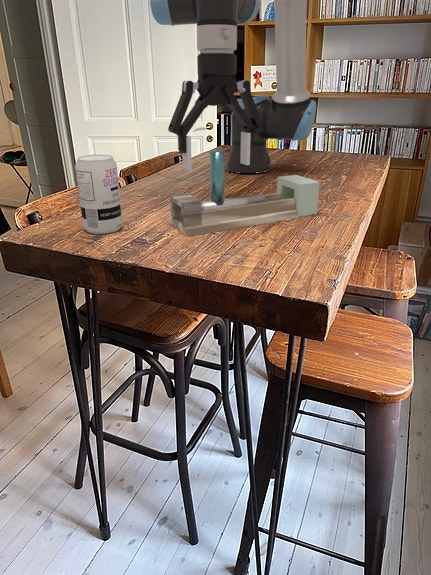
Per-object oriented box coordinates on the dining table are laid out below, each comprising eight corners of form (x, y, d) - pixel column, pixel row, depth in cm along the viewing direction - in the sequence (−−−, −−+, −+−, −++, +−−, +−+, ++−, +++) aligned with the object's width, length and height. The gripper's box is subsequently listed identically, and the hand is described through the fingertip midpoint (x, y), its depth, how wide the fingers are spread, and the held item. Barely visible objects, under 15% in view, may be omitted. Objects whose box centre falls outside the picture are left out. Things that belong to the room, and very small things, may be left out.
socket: (275, 207, 111) (277, 177, 108) (294, 204, 113) (296, 174, 110) (297, 217, 104) (300, 184, 100) (316, 213, 106) (319, 182, 103)
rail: (169, 223, 100) (167, 194, 97) (273, 207, 111) (275, 181, 108) (187, 236, 92) (186, 205, 89) (297, 217, 103) (300, 189, 100)
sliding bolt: (178, 218, 97) (176, 153, 91) (257, 206, 105) (260, 146, 99) (185, 222, 94) (182, 155, 88) (265, 210, 102) (268, 148, 96)
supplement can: (87, 223, 100) (78, 154, 93) (124, 222, 101) (118, 153, 94) (80, 235, 93) (69, 161, 86) (120, 234, 93) (113, 160, 87)
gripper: (162, 50, 77) (167, 175, 86) (282, 53, 87) (276, 164, 96) (147, 52, 83) (154, 168, 92) (262, 54, 93) (258, 159, 102)
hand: (216, 166), depth 94 cm, fingers open, 13 cm apart
